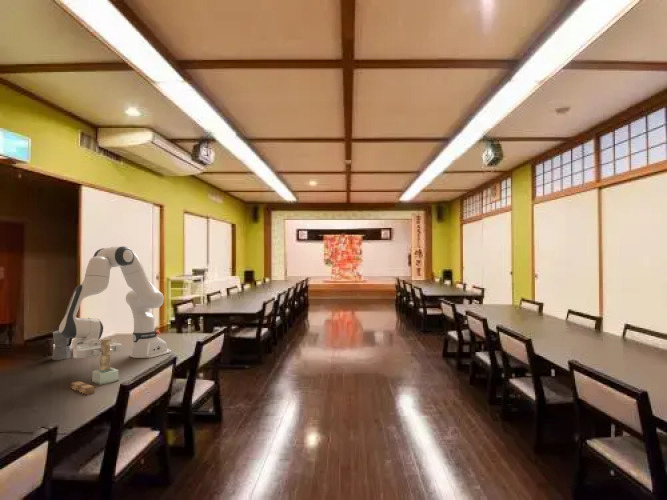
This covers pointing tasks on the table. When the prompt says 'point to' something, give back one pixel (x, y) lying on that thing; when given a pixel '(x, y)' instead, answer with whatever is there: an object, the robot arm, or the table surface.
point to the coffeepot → (61, 346)
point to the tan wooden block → (105, 354)
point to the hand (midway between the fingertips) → (106, 352)
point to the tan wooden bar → (82, 387)
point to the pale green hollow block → (105, 376)
